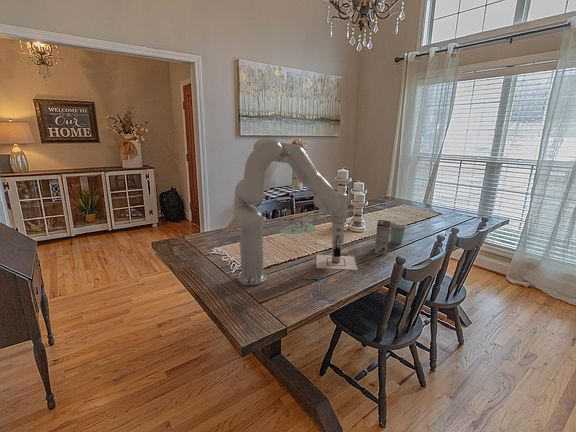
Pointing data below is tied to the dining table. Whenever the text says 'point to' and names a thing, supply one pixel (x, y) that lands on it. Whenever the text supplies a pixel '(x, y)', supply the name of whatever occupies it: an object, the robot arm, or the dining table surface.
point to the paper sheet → (326, 263)
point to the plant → (299, 228)
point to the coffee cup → (397, 232)
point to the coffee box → (382, 237)
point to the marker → (335, 259)
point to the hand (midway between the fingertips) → (336, 252)
